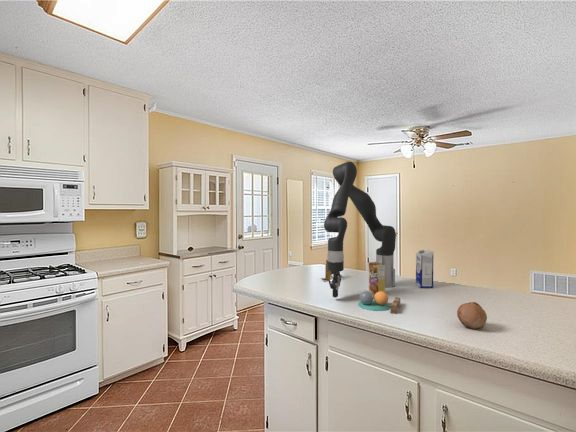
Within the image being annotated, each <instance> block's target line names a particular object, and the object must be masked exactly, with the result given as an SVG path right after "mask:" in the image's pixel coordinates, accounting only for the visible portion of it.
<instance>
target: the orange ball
mask: <svg viewBox="0 0 576 432" xmlns="http://www.w3.org/2000/svg"><path fill="white" fill-rule="evenodd" d="M373 301H375V302H376V303H377V304H378V305H385V304H386V303H388V301H389V295H388V294H387V293H386V292H385V293H384V292H382V291H379V292H377V293H376V294H374V296H373Z"/></svg>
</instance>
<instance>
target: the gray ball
mask: <svg viewBox="0 0 576 432" xmlns="http://www.w3.org/2000/svg"><path fill="white" fill-rule="evenodd" d="M372 301H374V296H373V294H372V292H370V291H369V290H364V291H362V292H360V294H359V302H361V303H362V304H364V305H369V304H371V303H372Z"/></svg>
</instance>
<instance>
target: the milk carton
mask: <svg viewBox="0 0 576 432" xmlns="http://www.w3.org/2000/svg"><path fill="white" fill-rule="evenodd" d="M434 253H435V252H434V251H433V250H431V249H426V250H425V249H423V250H419V251H418V252H416V253H415V286H417V287H418V288H419V289H434V260H435V259H434Z"/></svg>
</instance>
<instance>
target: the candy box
mask: <svg viewBox="0 0 576 432" xmlns="http://www.w3.org/2000/svg"><path fill="white" fill-rule="evenodd" d="M379 291H382V292H384V293H386V287H385V265H383V264H380V263H377V262H376V261H368V292H370V293H371V294H372V293H373V294H374V295H375V294H376V293H377V292H379Z"/></svg>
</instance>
